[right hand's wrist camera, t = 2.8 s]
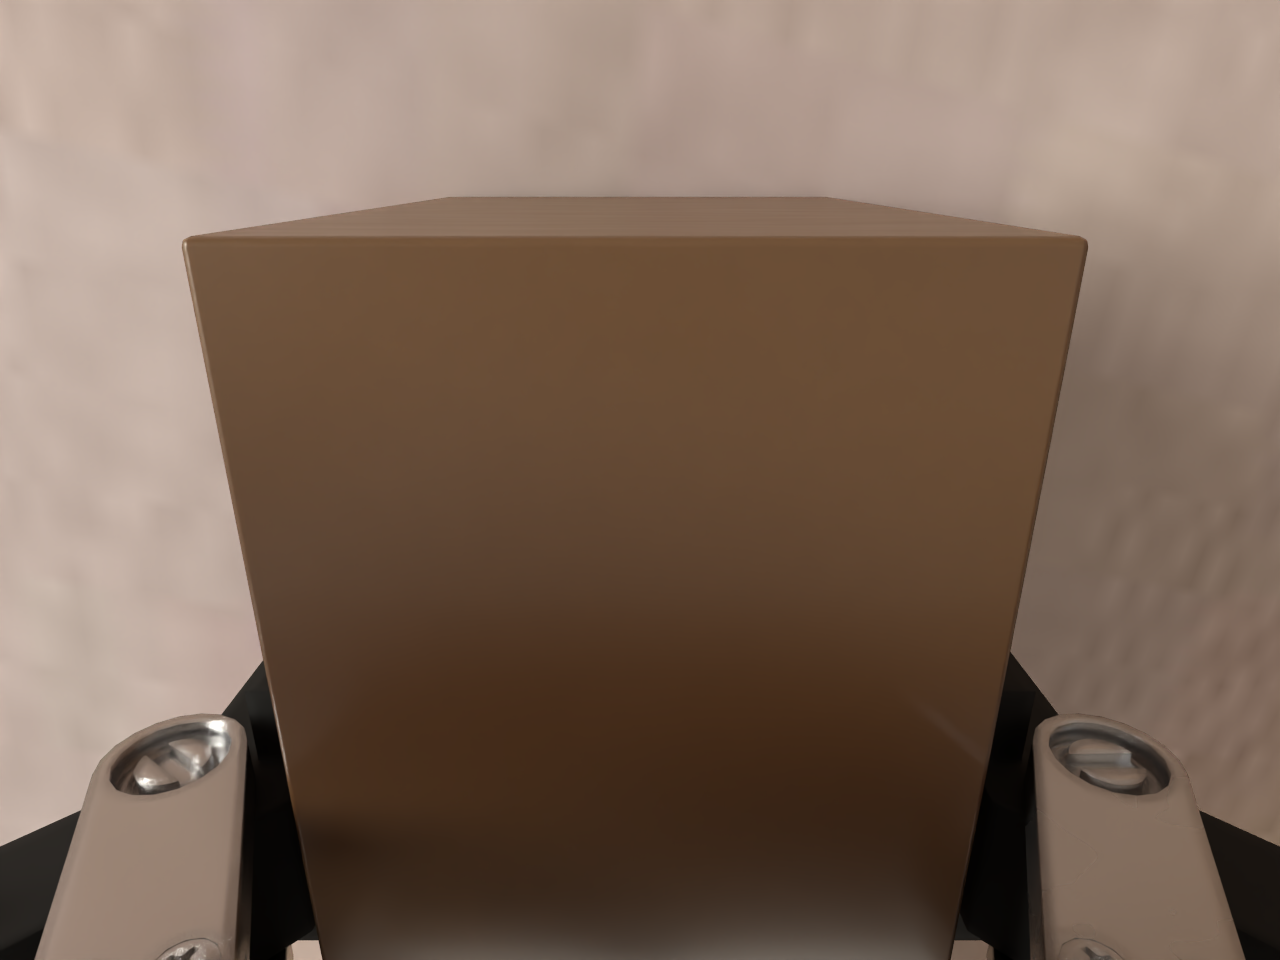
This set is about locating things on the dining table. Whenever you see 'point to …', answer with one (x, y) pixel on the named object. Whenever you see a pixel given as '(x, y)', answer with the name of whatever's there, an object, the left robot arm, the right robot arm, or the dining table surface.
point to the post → (635, 560)
